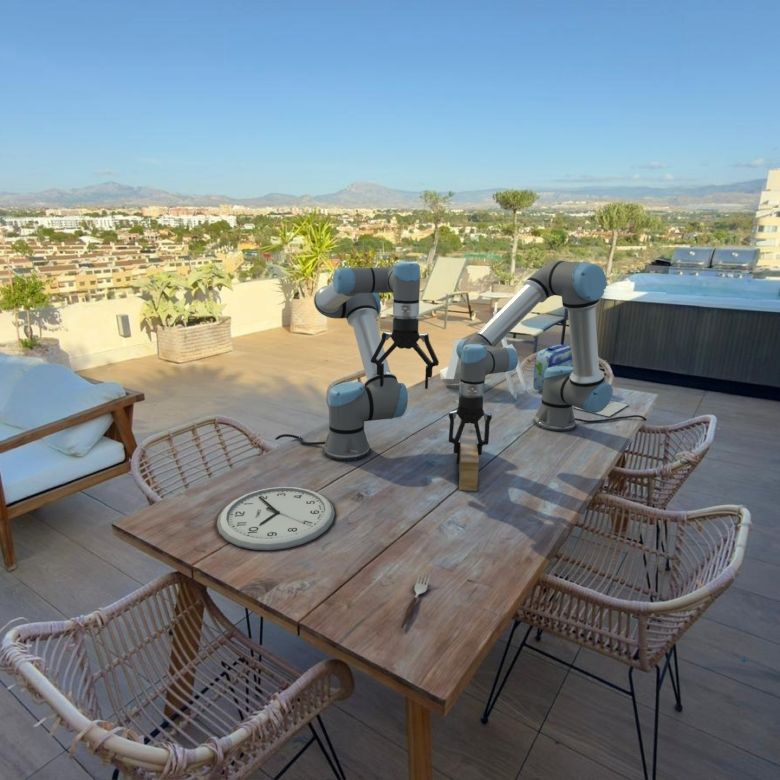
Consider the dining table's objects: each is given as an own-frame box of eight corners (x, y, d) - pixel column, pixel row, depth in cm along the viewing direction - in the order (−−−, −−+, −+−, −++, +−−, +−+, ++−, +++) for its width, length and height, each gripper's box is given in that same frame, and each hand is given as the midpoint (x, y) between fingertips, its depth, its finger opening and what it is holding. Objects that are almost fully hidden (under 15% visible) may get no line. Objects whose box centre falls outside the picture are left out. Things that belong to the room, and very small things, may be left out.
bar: (458, 458, 173) (460, 433, 170) (474, 459, 172) (476, 434, 170) (459, 490, 152) (460, 462, 150) (476, 491, 152) (478, 463, 149)
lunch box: (550, 397, 237) (555, 352, 231) (529, 391, 245) (533, 348, 238) (577, 386, 255) (582, 344, 249) (556, 381, 262) (561, 340, 256)
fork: (394, 628, 99) (394, 619, 99) (419, 578, 113) (419, 570, 113) (407, 632, 98) (408, 623, 98) (430, 581, 113) (431, 573, 112)
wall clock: (333, 542, 123) (202, 546, 121) (333, 547, 124) (203, 552, 121) (335, 482, 152) (229, 485, 149) (335, 487, 152) (230, 490, 150)
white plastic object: (461, 429, 252) (437, 405, 227) (444, 352, 274) (420, 323, 250) (535, 404, 240) (518, 377, 215) (510, 326, 262) (492, 293, 237)
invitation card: (608, 416, 214) (573, 407, 224) (608, 416, 214) (573, 408, 224) (628, 404, 229) (594, 396, 238) (628, 405, 229) (594, 397, 238)
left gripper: (361, 317, 150) (361, 387, 156) (448, 320, 147) (445, 392, 154) (365, 313, 157) (365, 380, 164) (448, 316, 155) (445, 385, 161)
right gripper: (441, 396, 159) (438, 466, 166) (502, 399, 157) (496, 469, 164) (442, 389, 166) (439, 456, 173) (500, 392, 164) (494, 459, 171)
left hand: (404, 386), depth 159 cm, fingers open, 13 cm apart
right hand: (466, 462), depth 169 cm, fingers closed on bar, 5 cm apart
